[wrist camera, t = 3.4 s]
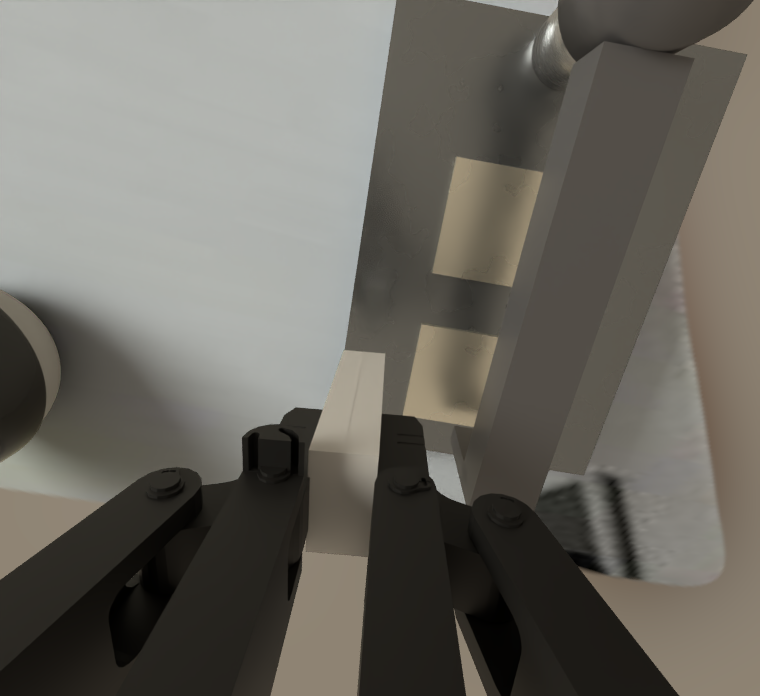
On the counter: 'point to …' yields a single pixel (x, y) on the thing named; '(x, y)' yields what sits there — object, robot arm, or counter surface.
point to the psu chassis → (496, 210)
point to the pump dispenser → (24, 374)
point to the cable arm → (580, 227)
